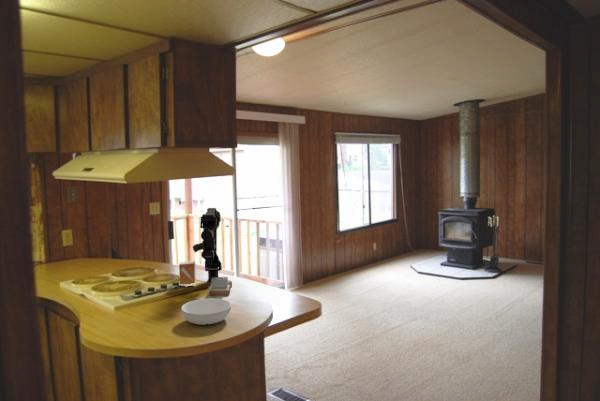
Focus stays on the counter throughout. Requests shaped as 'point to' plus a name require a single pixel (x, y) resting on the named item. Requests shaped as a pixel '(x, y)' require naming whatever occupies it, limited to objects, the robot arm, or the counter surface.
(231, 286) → the oak offcut
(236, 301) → the counter surface
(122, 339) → the counter surface
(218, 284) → the housing
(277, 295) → the counter surface
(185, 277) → the small box
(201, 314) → the serving bowl
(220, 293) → the stand
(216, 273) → the robot arm
